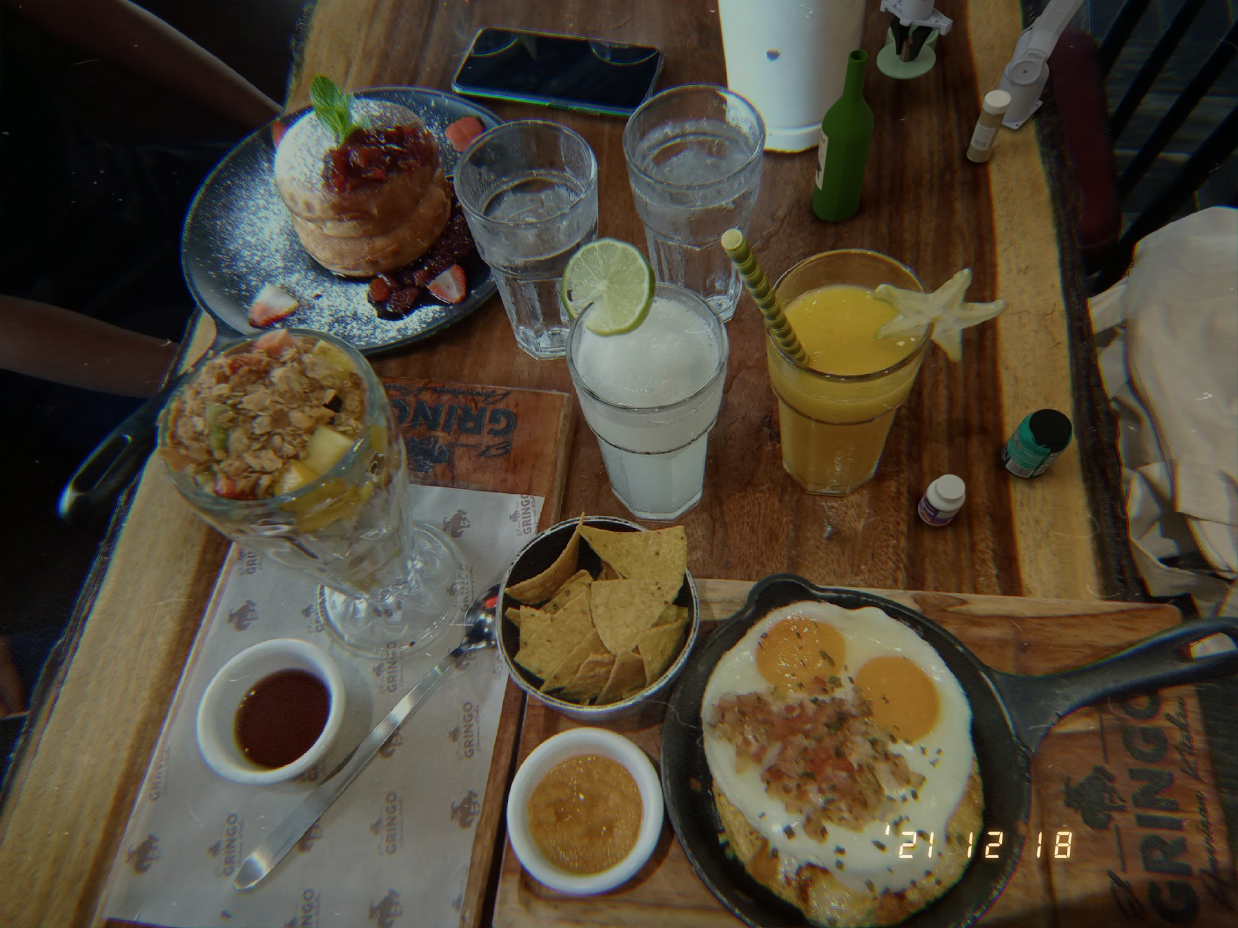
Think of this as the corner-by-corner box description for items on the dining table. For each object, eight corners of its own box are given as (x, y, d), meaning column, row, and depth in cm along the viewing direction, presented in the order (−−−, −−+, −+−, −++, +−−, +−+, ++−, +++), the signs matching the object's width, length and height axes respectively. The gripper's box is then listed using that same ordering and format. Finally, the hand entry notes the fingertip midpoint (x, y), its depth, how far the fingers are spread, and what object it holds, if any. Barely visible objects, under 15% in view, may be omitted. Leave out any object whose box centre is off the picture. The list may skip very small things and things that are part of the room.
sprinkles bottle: (994, 156, 146) (1017, 97, 134) (977, 168, 145) (998, 109, 133) (977, 145, 148) (998, 85, 136) (960, 156, 147) (979, 97, 135)
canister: (902, 33, 165) (907, 9, 160) (943, 49, 161) (949, 25, 156) (874, 59, 163) (878, 35, 158) (914, 76, 159) (919, 52, 154)
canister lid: (898, 38, 154) (902, 14, 149) (946, 57, 149) (952, 33, 145) (864, 68, 151) (868, 45, 147) (912, 89, 147) (917, 66, 142)
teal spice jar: (1046, 445, 118) (1076, 407, 107) (1046, 484, 115) (1078, 449, 105) (999, 439, 120) (1024, 402, 109) (998, 477, 117) (1024, 443, 106)
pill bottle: (913, 498, 117) (927, 472, 109) (947, 493, 117) (964, 467, 108) (922, 529, 115) (937, 505, 106) (957, 524, 115) (975, 500, 106)
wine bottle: (808, 194, 149) (824, 43, 120) (852, 186, 148) (879, 32, 119) (817, 226, 145) (836, 78, 116) (863, 218, 144) (894, 67, 115)
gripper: (875, -14, 139) (864, 53, 151) (943, 12, 133) (926, 79, 145) (898, -34, 140) (885, 34, 152) (965, -9, 134) (947, 59, 146)
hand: (906, 55), depth 149 cm, fingers closed on canister lid, 2 cm apart
